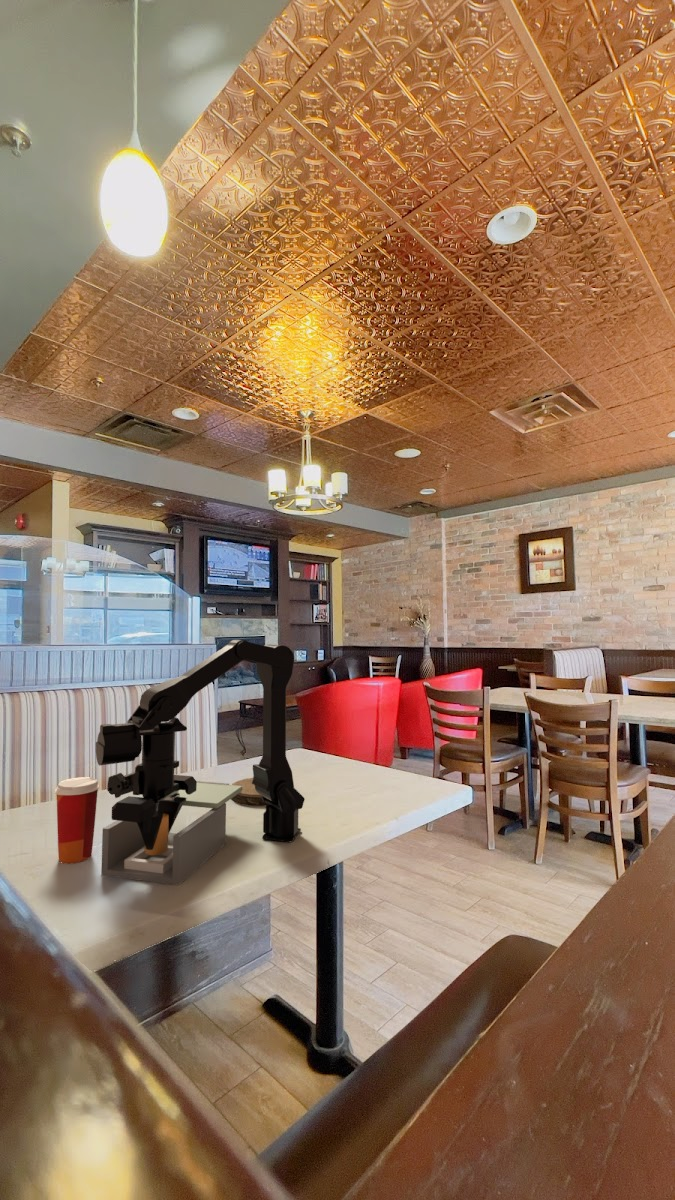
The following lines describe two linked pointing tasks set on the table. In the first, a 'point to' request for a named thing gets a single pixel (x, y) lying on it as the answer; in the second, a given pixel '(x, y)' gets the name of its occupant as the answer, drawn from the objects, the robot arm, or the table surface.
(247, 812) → the table surface
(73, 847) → the paper cup
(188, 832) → the housing
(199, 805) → the lid
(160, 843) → the orange rounded cylinder
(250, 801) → the wood slice coaster
